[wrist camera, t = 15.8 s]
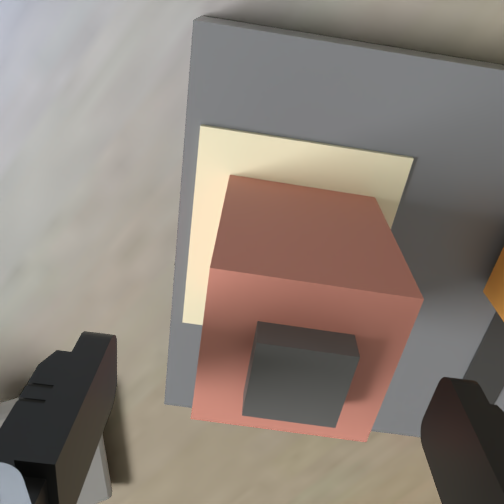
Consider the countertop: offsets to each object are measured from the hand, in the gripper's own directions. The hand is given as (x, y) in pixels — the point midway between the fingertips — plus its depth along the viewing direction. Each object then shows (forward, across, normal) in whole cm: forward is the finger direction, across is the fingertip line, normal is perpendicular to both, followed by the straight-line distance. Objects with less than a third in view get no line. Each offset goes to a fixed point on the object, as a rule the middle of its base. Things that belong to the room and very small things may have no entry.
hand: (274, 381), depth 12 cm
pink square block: (+6, -1, 0) cm, 7 cm away
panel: (+9, -4, +1) cm, 10 cm away
